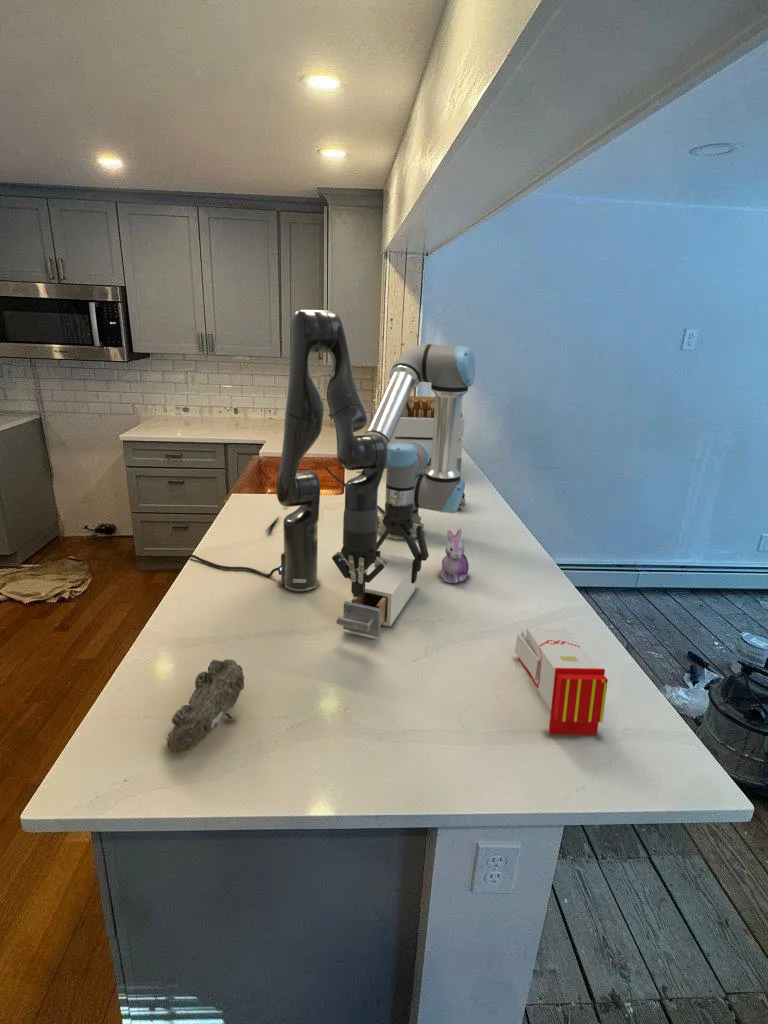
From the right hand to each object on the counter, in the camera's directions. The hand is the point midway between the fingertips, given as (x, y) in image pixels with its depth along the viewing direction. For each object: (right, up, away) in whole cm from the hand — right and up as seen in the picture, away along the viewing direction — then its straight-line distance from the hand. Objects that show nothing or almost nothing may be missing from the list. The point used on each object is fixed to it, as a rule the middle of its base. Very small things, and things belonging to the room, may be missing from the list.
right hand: (395, 577), depth 158 cm
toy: (+32, -20, -38) cm, 53 cm away
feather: (-42, +15, +49) cm, 66 cm away
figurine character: (+26, +20, +72) cm, 79 cm away
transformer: (+14, +37, +117) cm, 123 cm away
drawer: (-6, -9, -15) cm, 18 cm away
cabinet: (-3, -6, -5) cm, 9 cm away
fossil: (-36, -21, -50) cm, 65 cm away
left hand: (-9, -1, -28) cm, 29 cm away
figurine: (+18, -1, +11) cm, 21 cm away
